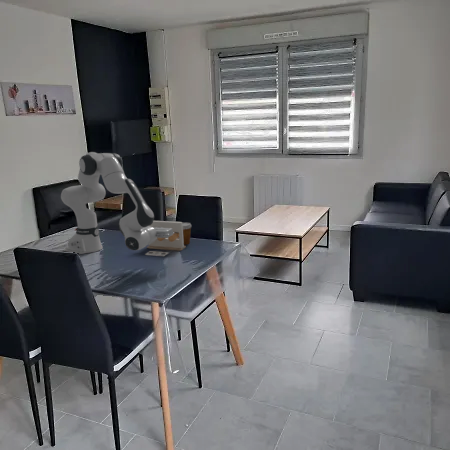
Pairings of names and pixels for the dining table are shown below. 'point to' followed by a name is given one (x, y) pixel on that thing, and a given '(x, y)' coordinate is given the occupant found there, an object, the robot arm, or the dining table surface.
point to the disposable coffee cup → (186, 232)
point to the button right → (173, 237)
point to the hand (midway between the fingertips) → (160, 228)
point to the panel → (165, 243)
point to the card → (157, 253)
